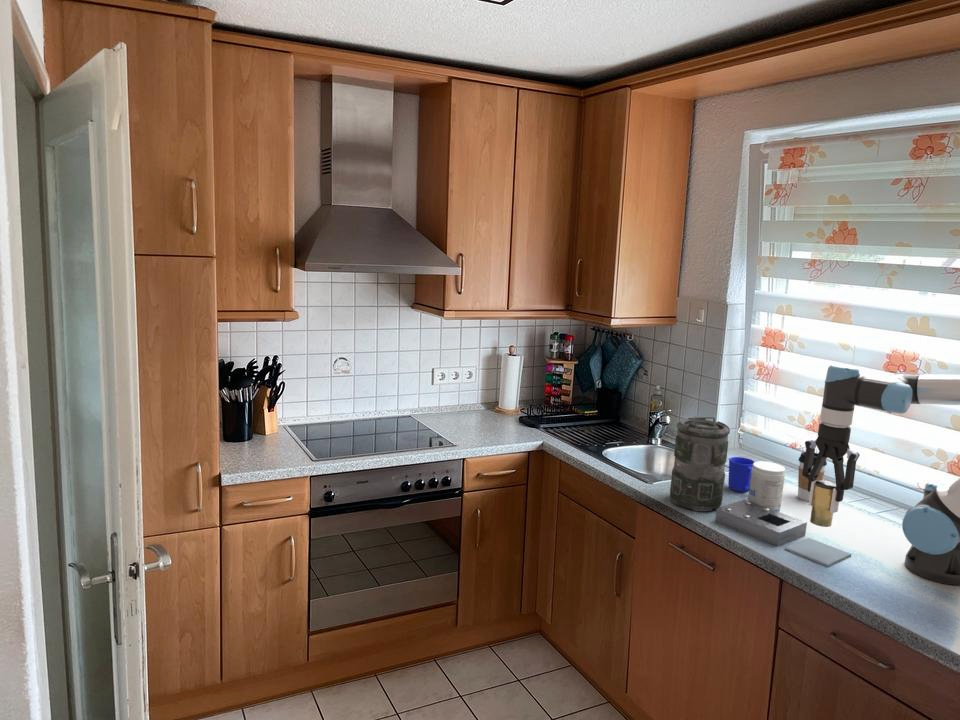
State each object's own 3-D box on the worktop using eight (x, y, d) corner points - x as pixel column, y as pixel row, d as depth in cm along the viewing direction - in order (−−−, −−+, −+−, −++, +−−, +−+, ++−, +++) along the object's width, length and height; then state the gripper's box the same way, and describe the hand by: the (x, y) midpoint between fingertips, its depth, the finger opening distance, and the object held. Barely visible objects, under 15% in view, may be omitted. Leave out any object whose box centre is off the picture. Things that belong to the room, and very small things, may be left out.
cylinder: (835, 524, 191) (841, 485, 189) (825, 528, 188) (831, 488, 186) (816, 517, 195) (822, 479, 193) (806, 521, 192) (811, 482, 190)
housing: (805, 535, 204) (807, 520, 203) (777, 546, 195) (779, 531, 195) (743, 511, 219) (744, 498, 219) (715, 521, 211) (716, 507, 210)
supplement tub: (741, 505, 225) (746, 460, 222) (770, 505, 226) (775, 460, 223) (755, 517, 215) (761, 470, 213) (785, 517, 216) (791, 471, 214)
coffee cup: (793, 499, 232) (798, 455, 229) (794, 491, 240) (799, 448, 237) (821, 504, 229) (827, 459, 226) (821, 496, 236) (827, 453, 233)
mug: (740, 498, 231) (744, 468, 229) (721, 485, 243) (724, 457, 241) (763, 497, 233) (767, 468, 231) (743, 484, 244) (746, 456, 243)
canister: (684, 513, 216) (694, 424, 211) (660, 494, 231) (668, 410, 226) (731, 511, 219) (741, 423, 215) (704, 492, 235) (713, 409, 230)
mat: (851, 556, 192) (851, 554, 191) (827, 566, 184) (828, 564, 184) (808, 539, 201) (808, 537, 201) (784, 549, 194) (784, 547, 194)
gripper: (878, 430, 182) (864, 517, 186) (809, 413, 196) (798, 494, 200) (863, 434, 177) (849, 523, 181) (794, 417, 191) (783, 499, 196)
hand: (822, 507), depth 191 cm, fingers closed on cylinder, 5 cm apart
